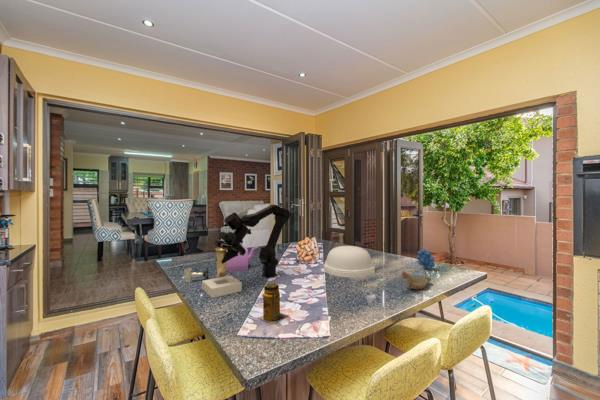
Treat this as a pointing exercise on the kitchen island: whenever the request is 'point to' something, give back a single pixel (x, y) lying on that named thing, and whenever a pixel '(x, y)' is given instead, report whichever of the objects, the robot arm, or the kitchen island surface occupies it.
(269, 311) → the condiment
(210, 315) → the kitchen island surface
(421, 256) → the grapes
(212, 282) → the jig plate
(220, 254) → the brass bushing
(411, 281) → the oil lamp
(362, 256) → the dome cover
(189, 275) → the valve
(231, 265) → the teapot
